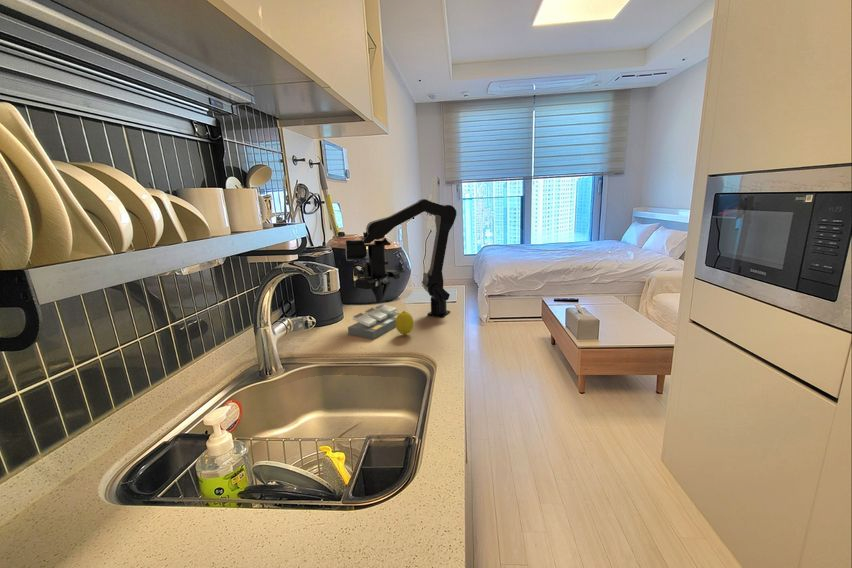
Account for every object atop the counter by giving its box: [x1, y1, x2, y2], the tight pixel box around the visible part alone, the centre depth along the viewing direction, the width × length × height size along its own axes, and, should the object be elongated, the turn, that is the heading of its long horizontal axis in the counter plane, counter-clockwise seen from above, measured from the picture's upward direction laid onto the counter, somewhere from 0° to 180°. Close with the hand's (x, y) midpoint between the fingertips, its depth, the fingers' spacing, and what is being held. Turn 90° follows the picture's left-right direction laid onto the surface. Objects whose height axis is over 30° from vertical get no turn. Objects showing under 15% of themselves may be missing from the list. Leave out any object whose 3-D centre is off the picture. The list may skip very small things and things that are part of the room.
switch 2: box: [374, 304, 398, 314], centre depth 126 cm, size 4×6×1 cm, turn 61°
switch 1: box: [352, 312, 376, 327], centre depth 116 cm, size 4×6×1 cm, turn 61°
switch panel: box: [347, 311, 401, 340], centre depth 121 cm, size 19×10×4 cm, turn 151°
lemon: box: [395, 310, 414, 336], centre depth 113 cm, size 6×6×8 cm
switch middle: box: [363, 307, 387, 321], centre depth 121 cm, size 4×6×1 cm, turn 61°
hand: (379, 302), depth 127 cm, fingers closed
